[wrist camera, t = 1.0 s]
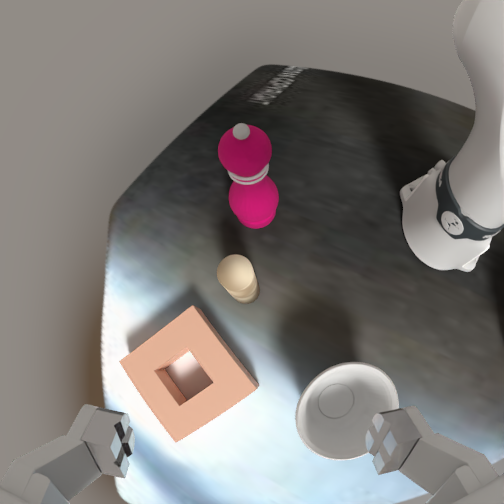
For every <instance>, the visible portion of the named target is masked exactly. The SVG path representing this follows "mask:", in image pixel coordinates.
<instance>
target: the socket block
mask: <svg viewBox="0 0 504 504" xmlns="http://www.w3.org/2000/svg"><path fill="white" fill-rule="evenodd" d="M188 351H190V352H191V353H192V355H193V356H194V357H195V359H196V360H197V361H198V363H199V364H200V365H201V367H202V368H203V369H204V371H205V372H206V373H207V375H208V376H209V377H210V379H211V380H212V381H213V383H212V384H211V385H210V386H208V387H207V388H205V389H204V390H202V391H201V392H200V393H198V394H197V395H195V396H194V397H192V398H191V399H189V400H188V401H187V399H186V398H185V397H184V395H183V394H182V393H181V391H180V390H179V389H178V387H177V386H176V385H175V383H174V382H173V380H172V379H171V378H170V376H169V375H168V373H167V372H166V370H165V368H167V367H168V366H169V365H171V364H172V363H173V362H175V361H176V360H177V359H179V358H180V357H182V356H183V355H184V354H186V353H187V352H188ZM119 362H120V363H121V365H122V367H123V368H124V370H125V372H126V373H127V375H128V376H129V378H130V379H131V381H132V383H133V384H134V386H135V387H136V389H137V390H138V392H139V393H140V395H141V396H142V398H143V399H144V400H145V402H146V403H147V405H148V406H149V408H150V409H151V410H152V412H153V413H154V415H155V416H156V417H157V419H158V420H159V421H160V423H161V424H162V425H163V427H164V428H165V429H166V431H167V432H168V433H169V435H170V436H171V437H172V438H173V440H174V441H175V442H178V441H179V440H181V439H183V438H184V437H186V436H188V435H189V434H191V433H192V432H194V431H196V430H197V429H199V428H200V427H202V426H204V425H205V424H207V423H208V422H210V421H211V420H213V419H214V418H216V417H217V416H219V415H220V414H222V413H223V412H225V411H226V410H228V409H229V408H231V407H232V406H234V405H235V404H237V403H238V402H239V401H241V400H242V399H244V398H245V397H247V396H248V395H249V394H251V393H252V392H254V391H255V390H256V389H257V388H258V386H259V384H258V383H257V382H256V381H255V379H254V378H253V377H252V376H251V374H250V373H249V372H248V371H247V370H246V368H245V367H244V366H243V365H242V363H241V362H240V361H239V359H238V358H237V357H236V356H235V354H234V353H233V352H232V351H231V349H230V348H229V347H228V345H227V344H226V343H225V341H224V340H223V339H222V338H221V336H220V335H219V334H218V332H217V331H216V330H215V328H214V327H213V326H212V324H211V323H210V322H209V320H208V319H207V318H206V316H205V315H204V313H203V312H202V311H201V309H199V308H197V307H195V306H193V305H192V306H191V307H190V308H188V309H187V310H186V311H184V312H183V313H182V314H180V315H179V316H178V317H177V318H175V319H174V320H173V321H171V322H170V323H169V324H168V325H166V326H165V327H164V328H162V329H161V330H160V331H158V332H157V333H156V334H155V335H153V336H152V337H151V338H149V339H148V340H147V341H145V342H144V343H143V344H142V345H140V346H139V347H138V348H136V349H135V350H134V351H132V352H131V353H130V354H129V355H127V356H126V357H125V358H123V359H122V360H121V361H119Z"/></svg>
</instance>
